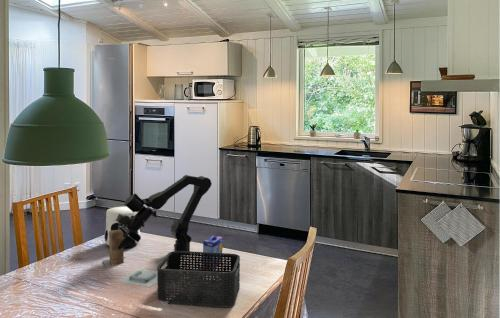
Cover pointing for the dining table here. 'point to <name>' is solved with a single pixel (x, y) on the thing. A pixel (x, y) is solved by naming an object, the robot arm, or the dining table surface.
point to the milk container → (113, 224)
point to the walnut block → (116, 247)
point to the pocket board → (141, 278)
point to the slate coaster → (107, 263)
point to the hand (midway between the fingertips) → (115, 245)
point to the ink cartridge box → (213, 245)
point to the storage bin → (199, 279)
